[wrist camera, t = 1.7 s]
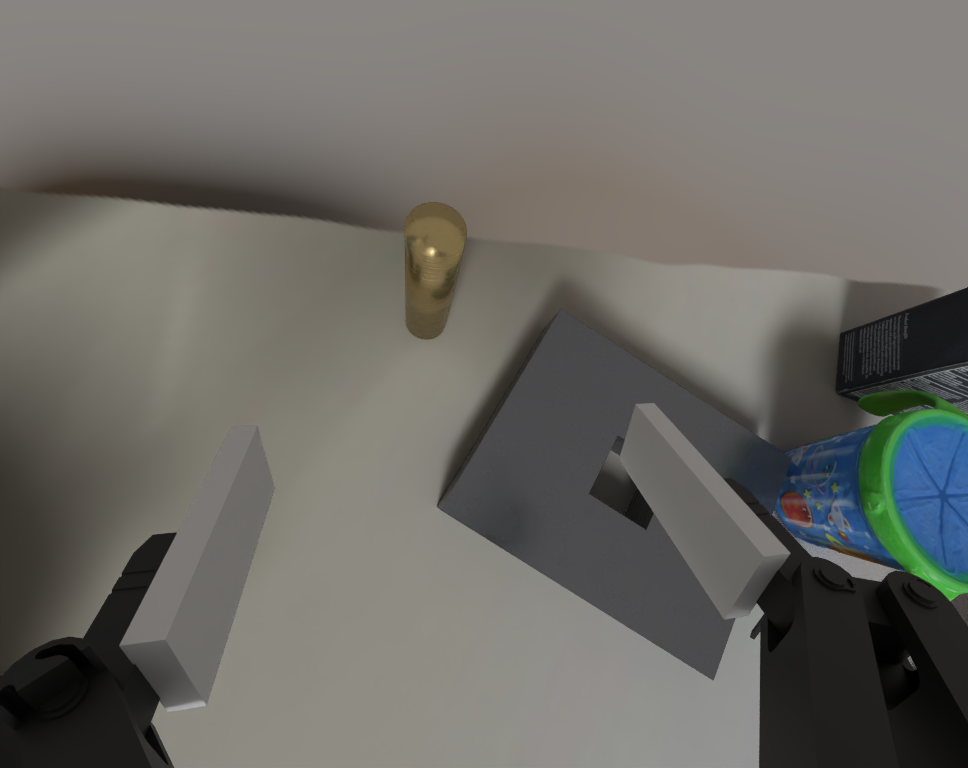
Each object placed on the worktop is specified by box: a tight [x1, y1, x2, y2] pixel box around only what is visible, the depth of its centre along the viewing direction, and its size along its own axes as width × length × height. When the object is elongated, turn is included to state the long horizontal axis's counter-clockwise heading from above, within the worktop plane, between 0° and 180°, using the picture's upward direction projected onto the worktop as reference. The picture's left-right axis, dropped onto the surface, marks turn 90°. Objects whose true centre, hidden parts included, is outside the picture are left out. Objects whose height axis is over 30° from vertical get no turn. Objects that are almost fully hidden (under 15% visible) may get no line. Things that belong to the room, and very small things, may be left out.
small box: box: [836, 287, 968, 416], centre depth 34 cm, size 11×6×10 cm, turn 72°
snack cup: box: [775, 390, 968, 602], centre depth 30 cm, size 16×10×10 cm
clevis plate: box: [437, 309, 792, 680], centre depth 30 cm, size 20×16×4 cm
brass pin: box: [405, 202, 467, 339], centre depth 26 cm, size 3×3×12 cm
